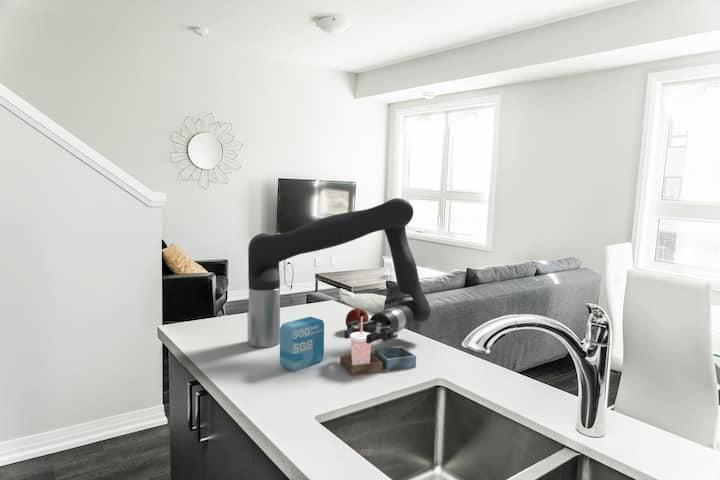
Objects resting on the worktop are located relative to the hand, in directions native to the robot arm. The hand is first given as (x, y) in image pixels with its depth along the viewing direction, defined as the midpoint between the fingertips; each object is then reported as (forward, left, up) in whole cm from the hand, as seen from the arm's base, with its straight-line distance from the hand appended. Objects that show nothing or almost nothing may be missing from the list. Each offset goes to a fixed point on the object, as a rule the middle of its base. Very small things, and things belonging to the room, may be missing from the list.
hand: (356, 337), depth 127 cm
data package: (-12, +9, -9) cm, 18 cm away
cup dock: (+7, +1, -9) cm, 11 cm away
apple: (+13, +32, -9) cm, 36 cm away
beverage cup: (+2, +1, -9) cm, 10 cm away
